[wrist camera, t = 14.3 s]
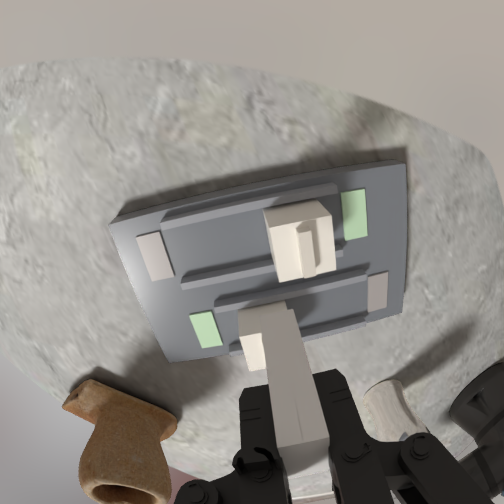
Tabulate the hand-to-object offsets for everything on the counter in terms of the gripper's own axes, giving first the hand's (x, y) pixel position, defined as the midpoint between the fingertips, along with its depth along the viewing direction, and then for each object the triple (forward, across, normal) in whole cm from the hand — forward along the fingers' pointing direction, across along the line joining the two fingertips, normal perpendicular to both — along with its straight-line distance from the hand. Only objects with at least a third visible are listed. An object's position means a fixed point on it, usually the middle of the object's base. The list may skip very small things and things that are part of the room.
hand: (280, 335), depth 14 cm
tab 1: (+11, +1, +7) cm, 14 cm away
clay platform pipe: (+14, +21, +19) cm, 32 cm away
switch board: (+13, -1, +3) cm, 14 cm away
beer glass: (+14, -13, +27) cm, 33 cm away
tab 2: (+11, -3, -1) cm, 12 cm away
